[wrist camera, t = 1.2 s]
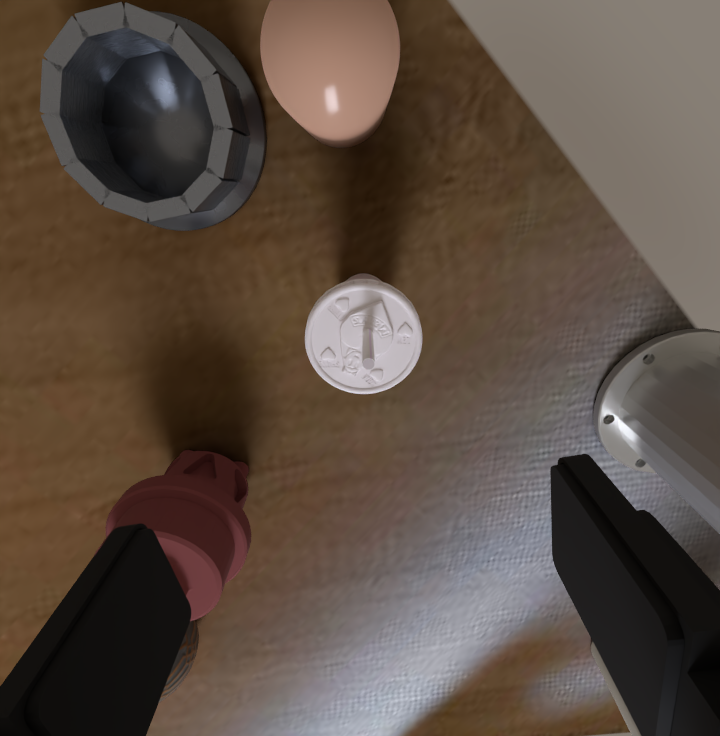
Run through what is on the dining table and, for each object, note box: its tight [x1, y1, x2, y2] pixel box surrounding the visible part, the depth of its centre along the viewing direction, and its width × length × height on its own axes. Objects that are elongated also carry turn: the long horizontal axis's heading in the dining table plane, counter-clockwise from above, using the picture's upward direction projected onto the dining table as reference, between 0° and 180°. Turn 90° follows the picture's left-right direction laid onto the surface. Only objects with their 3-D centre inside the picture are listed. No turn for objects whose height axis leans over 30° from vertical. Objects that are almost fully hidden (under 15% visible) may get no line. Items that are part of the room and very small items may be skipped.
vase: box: [159, 620, 199, 703], centre depth 41 cm, size 7×7×9 cm
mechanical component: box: [94, 450, 251, 621], centre depth 32 cm, size 12×10×10 cm
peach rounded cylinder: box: [260, 0, 400, 148], centre depth 23 cm, size 6×6×9 cm
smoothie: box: [305, 274, 422, 394], centre depth 25 cm, size 6×6×14 cm
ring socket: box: [40, 2, 267, 231], centre depth 25 cm, size 12×12×5 cm
